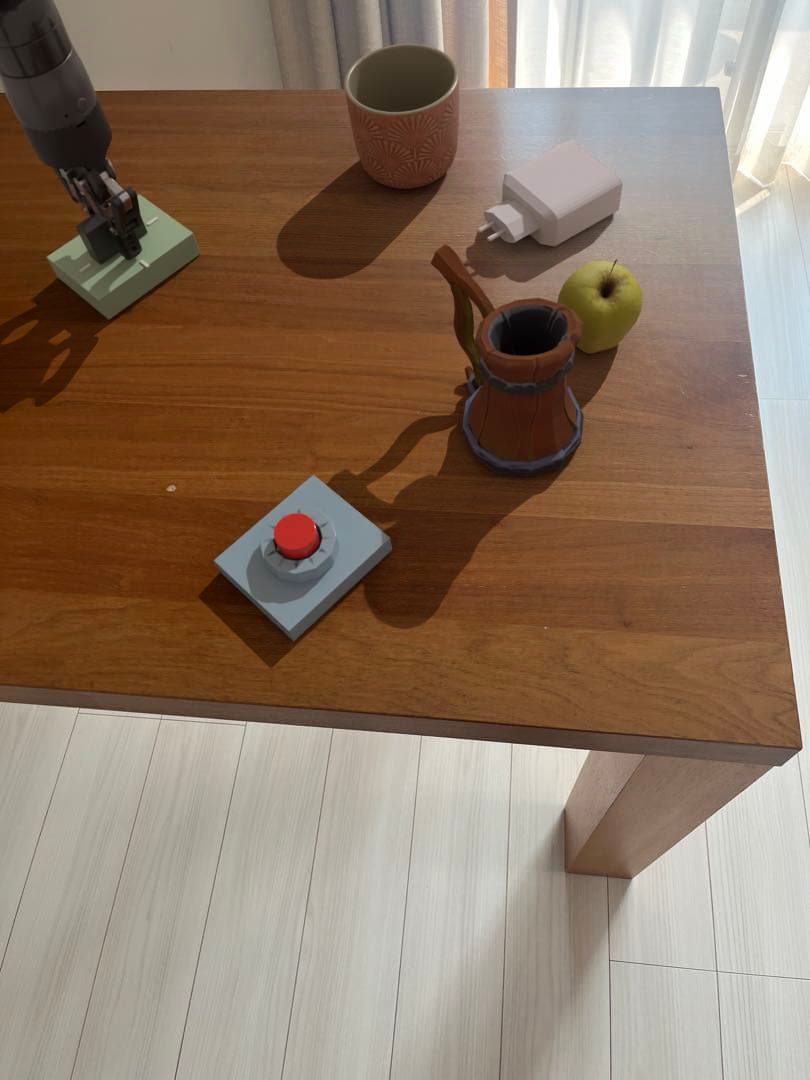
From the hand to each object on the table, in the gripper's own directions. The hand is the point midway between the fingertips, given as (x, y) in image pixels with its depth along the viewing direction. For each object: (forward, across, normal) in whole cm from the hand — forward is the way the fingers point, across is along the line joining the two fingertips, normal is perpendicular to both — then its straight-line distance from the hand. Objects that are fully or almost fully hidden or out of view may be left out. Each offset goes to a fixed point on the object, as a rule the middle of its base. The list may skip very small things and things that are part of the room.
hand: (122, 246), depth 97 cm
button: (0, +42, -12) cm, 44 cm away
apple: (+4, +45, +25) cm, 52 cm away
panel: (+3, -1, 0) cm, 3 cm away
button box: (+4, +42, -12) cm, 44 cm away
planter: (+3, +12, +32) cm, 34 cm away
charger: (+4, +30, +34) cm, 46 cm away
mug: (+4, +44, +12) cm, 46 cm away
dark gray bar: (0, -1, 0) cm, 1 cm away
